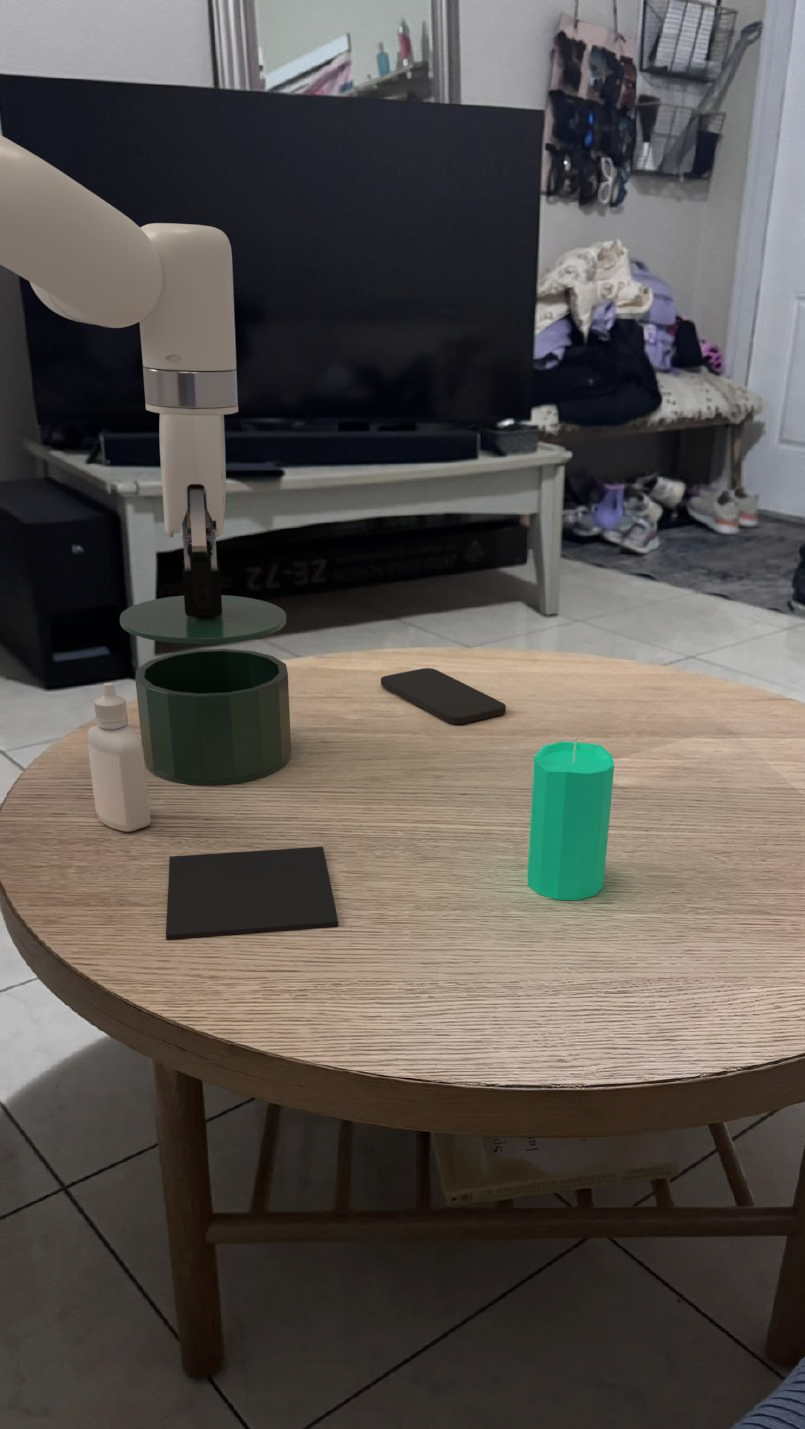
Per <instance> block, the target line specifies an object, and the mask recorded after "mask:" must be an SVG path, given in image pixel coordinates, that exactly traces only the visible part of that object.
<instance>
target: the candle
mask: <svg viewBox="0 0 805 1429" xmlns="http://www.w3.org/2000/svg"><path fill="white" fill-rule="evenodd" d="M614 772H615V762H614V758H613V755H612V753H610V752H609V751H608V750H607V749H606V748H605V747H603V745H601V744H597V743H587V742H577V737H576V736H575V737H574V741H558V742H557V741H556V742H552V743H549V744H546V745H543V746H542V747H541V748H540V749H539V750H538V752H537V753H536V754H535V755H534V756H533V771H532V789H531V804H530V807H531V808H530V822H529V823H530V824H529V841H528V856H527V857H528V860H527V874H526V876H527V886H528V887H529V888H531V889H532V890H533V891H535V893H536V894H538V895H541V896H544V897H547V898H550V899H552V900H556V901H580V900H584V899H589V898H592V897H595V896H596V895H597V894H598V893H600V892H601V890H602V889H604V882H605V872H606V864H607V863H606V862H607V861H606V860H607V850H608V842H609V841H608V839H609V829H610V828H609V827H610V818H611V809H612V808H611V806H612V795H613V785H614V784H613V783H614V774H615V773H614Z"/></svg>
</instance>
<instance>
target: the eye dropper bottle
mask: <svg viewBox="0 0 805 1429" xmlns="http://www.w3.org/2000/svg"><path fill="white" fill-rule="evenodd" d="M93 705H94V713H95V721H96V725H93V726H91V727H90V728H89V729H88V730H87V733H86V745H87V752H88V762H89V769H90V780H91V787H92V794H93V803H94V809H95V814H96V817H97V818H98V820H99V821H100V822H101V823H102V824H104V826H106V827H109V828H111V829H113V830H116V831H121V832H125V833H130V832H131V833H132V832H134V831H137V830H141V829H144V828H147V827H148V826H150V825H151V822H152V819H151V809H150V808H151V807H150V799H149V789H148V781H147V772H146V770H147V769H146V765H145V761H144V753H143V746H142V740H141V737H140V736H139V735H138V733H137V732H136V731H135V730H134V729H133V727H131V726H130V725H129V724H128V723H129V720H128V710H127V702H126V699H125V698H124V697H123V696H119V695H118V694H116V690H115V687H114V684H113V683H112V682H105V683H103V685H102V695H101V696H100V697H98V698H96V699H95V700H94V701H93Z"/></svg>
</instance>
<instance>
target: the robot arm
mask: <svg viewBox="0 0 805 1429" xmlns="http://www.w3.org/2000/svg"><path fill="white" fill-rule="evenodd" d="M232 253H233V252H232V246H231V242H230V239H229V237H228V236H227V235H226V233H225V232H224V231H223V230H222V229H219V228H217V227H214V226H209V225H203V224H191V223H190V224H189V223H173V222H172V223H171V222H170V223H169V222H167V223H166V222H155V223H148V224H145V225H142V226H139V225H138V224H137V223H136V222H134V221H133V220H132V219H131V218H129V217H128V216H127V215H125V214H124V213H123V212H121V211H120V210H119V209H117V208H116V207H114V206H113V205H112V204H110V203H108V202H107V201H105V200H104V199H102V198H101V197H100V196H98V195H97V194H95V193H94V192H92V191H91V190H89V189H88V188H86V187H85V186H83V184H80V183H79V182H77V181H76V180H75V179H73V178H72V177H70V176H68V175H67V174H65V172H63V171H61V170H60V169H58V168H57V167H55V166H54V165H52V164H51V163H49V162H47V161H45V160H44V159H43V158H41V157H39V156H38V155H35V154H34V153H33V152H31V151H29V150H28V149H27V148H24V147H22V146H21V145H18V144H17V143H15V142H14V141H12V140H10V139H8V138H7V137H6V136H5V137H4V136H3V135H1V134H0V265H1V267H4V268H6V269H7V270H9V271H11V272H13V273H14V274H16V275H18V276H19V277H21V278H23V279H24V280H27V281H28V282H29V284H30V286H31V289H32V290H33V291H34V294H35V295H36V296H37V298H38V299H39V300H40V301H41V302H42V303H43V305H45V306H46V307H47V308H48V309H49V310H51V311H52V312H54V313H55V314H58V315H59V316H61V317H63V318H65V319H68V320H71V321H73V322H78V323H83V324H88V325H95V326H99V327H103V328H110V329H120V328H126V327H130V326H133V325H136V324H138V323H139V332H140V334H139V335H140V345H141V358H142V375H143V387H144V398H145V399H144V400H145V401H144V402H145V410H146V411H149V412H151V413H156V414H159V422H158V423H159V424H158V426H159V427H158V428H159V432H158V433H159V457H160V458H159V459H160V475H161V489H162V503H163V520H164V522H163V524H164V534H165V535H166V536H167V537H169V538H174V533H175V534H176V533H180V532H181V529H182V543H183V544H182V546H183V557H184V558H183V561H182V568H183V569H182V586H183V596H184V604H185V614H186V615H187V616H220V615H221V614H222V597H221V595H222V581H221V580H222V579H221V578H222V577H221V562H220V560H218V558H217V538H219V537H220V536H222V534H223V533H224V525H225V514H226V493H227V492H226V491H227V490H226V489H227V488H226V487H227V484H226V483H227V474H226V473H227V468H226V465H227V464H226V436H225V435H226V434H225V433H226V432H225V416H226V415H233V414H236V413H238V412H239V397H238V396H239V395H238V374H237V373H238V372H237V371H238V370H237V348H236V346H237V345H236V324H235V323H236V321H235V320H236V319H235V298H234V297H235V296H234V294H235V293H234V273H233V272H234V271H233V254H232ZM210 558H211V563H210ZM191 569H192V570H191Z"/></svg>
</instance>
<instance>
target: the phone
mask: <svg viewBox="0 0 805 1429" xmlns="http://www.w3.org/2000/svg"><path fill="white" fill-rule="evenodd" d="M380 685H381V687H383V688H385V689H387V690H389V691H391V692H392V693H394V694H396V695H398V696H399V697H402V698H403V699H405V700H407V701H409V702H411V703H412V704H415V705H416V706H417V707H420V708H421V709H423V710H425V711H427V712H428V713H431V714H432V715H434V716H436V717H437V718H439V719H442V720H444V721H445V722H447V723H450V724H454V725H460V724H466V723H471V722H476V721H479V720H484V719H488V718H493V717H497V716H500V715H504V714H505V713H506V711H507V705H506V704H505V703H504V702H502V701H500V700H498V699H496V698H494V697H492V696H490V695H488V694H486V693H484V692H482V691H479V690H478V689H476V688H474V687H472V686H470V685H468V684H466V683H465V682H462V681H460V680H458V679H456V678H454V677H452V676H450V675H448V674H446V673H444V672H442V671H439V670H438V669H435V668H430V667H423V668H418V669H412V670H408V671H403V672H402V671H401V672H398V673H393V674H389V675H384V676H382V677H381V678H380Z"/></svg>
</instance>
